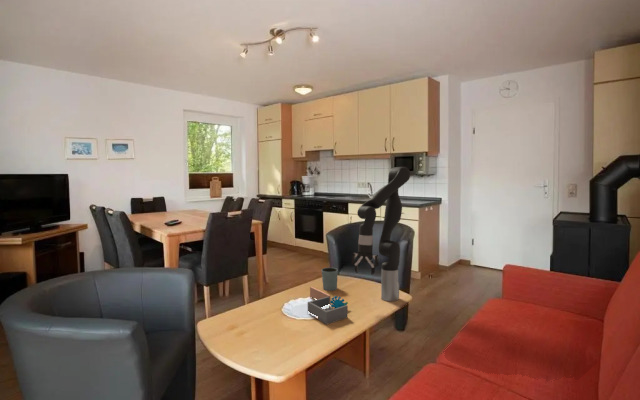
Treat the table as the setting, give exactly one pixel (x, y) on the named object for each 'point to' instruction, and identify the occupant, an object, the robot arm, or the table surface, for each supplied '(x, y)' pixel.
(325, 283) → the grey green cup
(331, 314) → the housing
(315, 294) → the tan thin board
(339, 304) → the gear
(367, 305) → the table surface
